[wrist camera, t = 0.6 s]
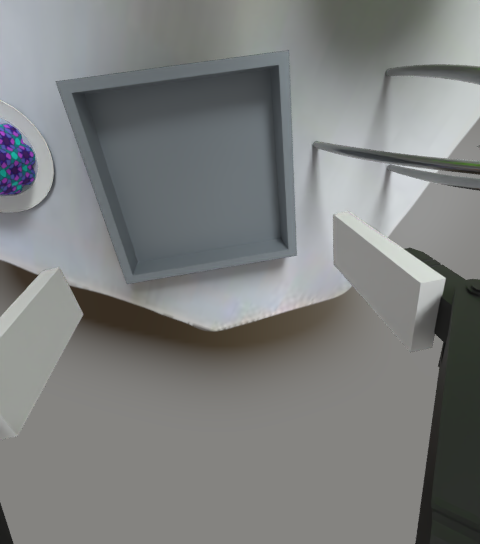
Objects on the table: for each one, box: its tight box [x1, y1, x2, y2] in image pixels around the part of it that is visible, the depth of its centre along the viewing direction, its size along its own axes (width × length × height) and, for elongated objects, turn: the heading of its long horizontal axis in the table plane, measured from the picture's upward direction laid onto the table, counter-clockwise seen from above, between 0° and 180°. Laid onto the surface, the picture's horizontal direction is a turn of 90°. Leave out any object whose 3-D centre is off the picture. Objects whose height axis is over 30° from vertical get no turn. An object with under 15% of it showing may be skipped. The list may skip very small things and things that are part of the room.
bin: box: [56, 50, 297, 284], centre depth 35 cm, size 21×21×4 cm
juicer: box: [313, 64, 480, 191], centre depth 24 cm, size 10×11×30 cm
